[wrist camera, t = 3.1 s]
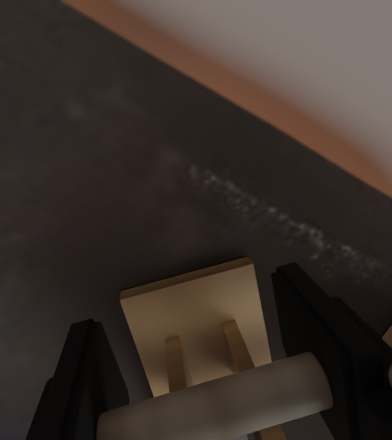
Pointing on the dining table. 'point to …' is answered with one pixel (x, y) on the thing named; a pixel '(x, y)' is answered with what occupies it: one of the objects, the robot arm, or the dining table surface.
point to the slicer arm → (225, 404)
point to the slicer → (199, 328)
